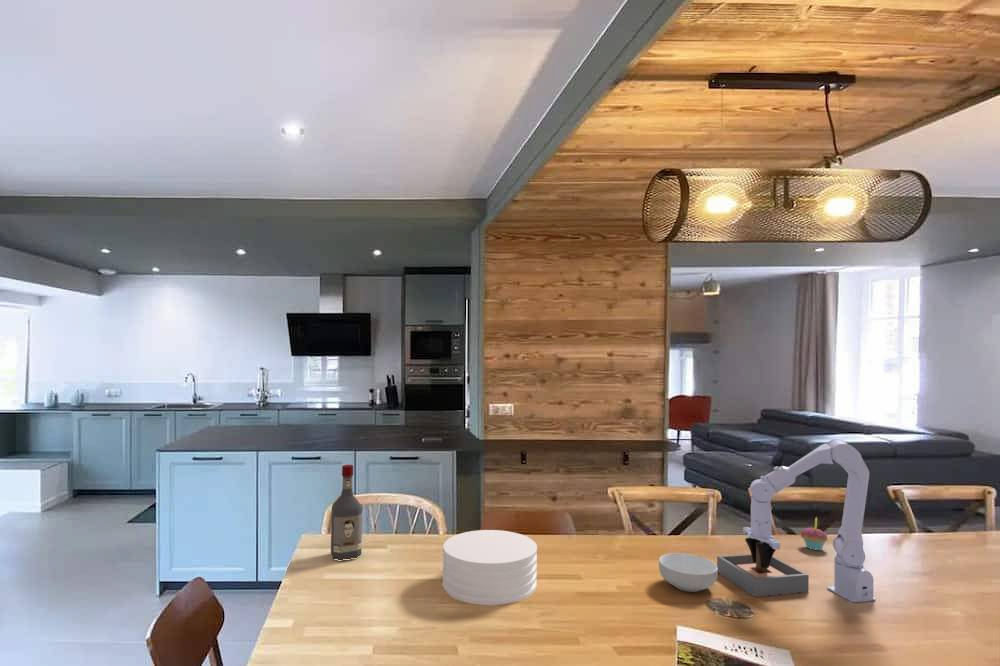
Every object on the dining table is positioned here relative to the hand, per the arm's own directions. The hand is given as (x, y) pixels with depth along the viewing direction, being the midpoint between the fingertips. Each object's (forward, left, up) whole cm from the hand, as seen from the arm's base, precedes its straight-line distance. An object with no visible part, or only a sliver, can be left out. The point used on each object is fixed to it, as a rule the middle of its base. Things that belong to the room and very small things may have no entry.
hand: (760, 565), depth 170 cm
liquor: (+43, +125, -5) cm, 132 cm away
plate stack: (+13, +82, -5) cm, 83 cm away
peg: (0, 0, -3) cm, 4 cm away
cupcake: (+22, -38, -5) cm, 44 cm away
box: (0, 0, -5) cm, 5 cm away
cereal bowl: (+1, +24, -5) cm, 25 cm away
